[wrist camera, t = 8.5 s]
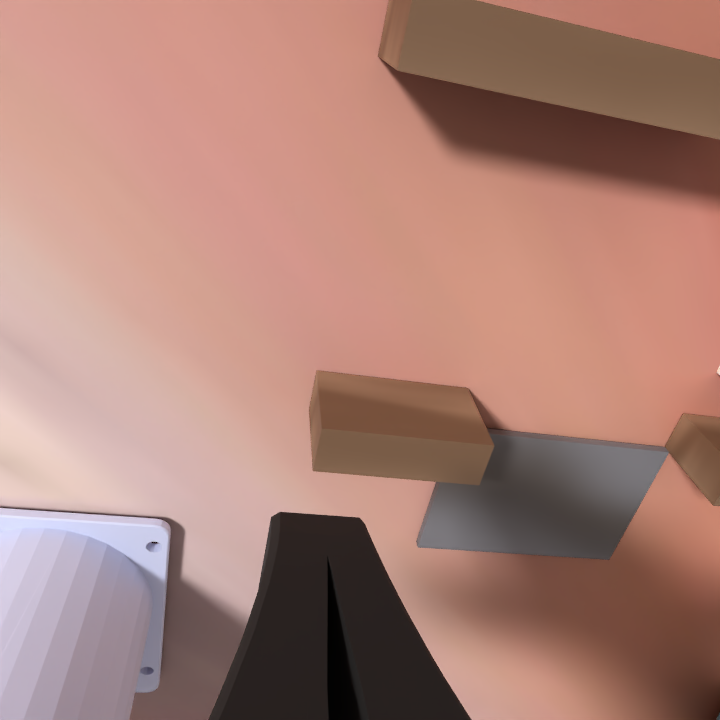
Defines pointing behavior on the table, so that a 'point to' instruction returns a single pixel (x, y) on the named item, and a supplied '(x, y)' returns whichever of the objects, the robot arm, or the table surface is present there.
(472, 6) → the trap lane
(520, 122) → the table surface
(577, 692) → the table surface
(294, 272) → the table surface
